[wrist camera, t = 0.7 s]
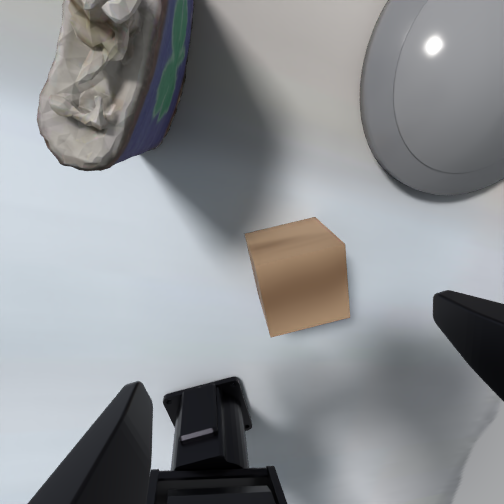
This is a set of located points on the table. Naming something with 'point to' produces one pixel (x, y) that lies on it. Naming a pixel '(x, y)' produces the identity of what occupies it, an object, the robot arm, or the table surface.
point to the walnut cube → (299, 275)
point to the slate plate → (436, 94)
